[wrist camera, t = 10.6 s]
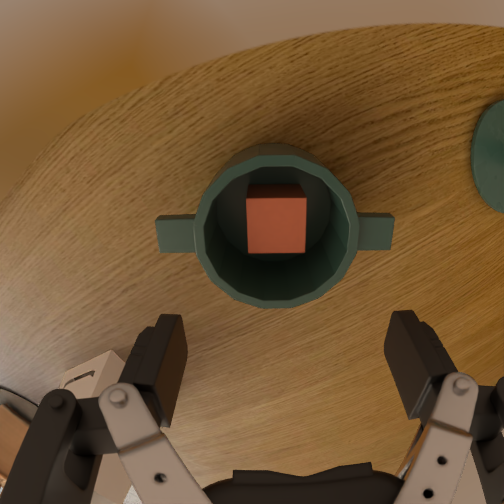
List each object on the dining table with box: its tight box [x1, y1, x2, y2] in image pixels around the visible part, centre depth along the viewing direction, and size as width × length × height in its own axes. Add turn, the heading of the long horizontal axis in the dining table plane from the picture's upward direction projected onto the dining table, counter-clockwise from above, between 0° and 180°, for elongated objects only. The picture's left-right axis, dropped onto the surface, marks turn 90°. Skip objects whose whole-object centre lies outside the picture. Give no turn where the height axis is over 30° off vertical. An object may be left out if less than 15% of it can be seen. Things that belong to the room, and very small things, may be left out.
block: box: [246, 184, 307, 254], centre depth 24 cm, size 4×4×4 cm
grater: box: [59, 349, 132, 504], centre depth 27 cm, size 10×10×20 cm
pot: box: [155, 143, 395, 309], centre depth 23 cm, size 10×16×6 cm, turn 92°
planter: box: [0, 389, 38, 497], centre depth 37 cm, size 25×25×19 cm
